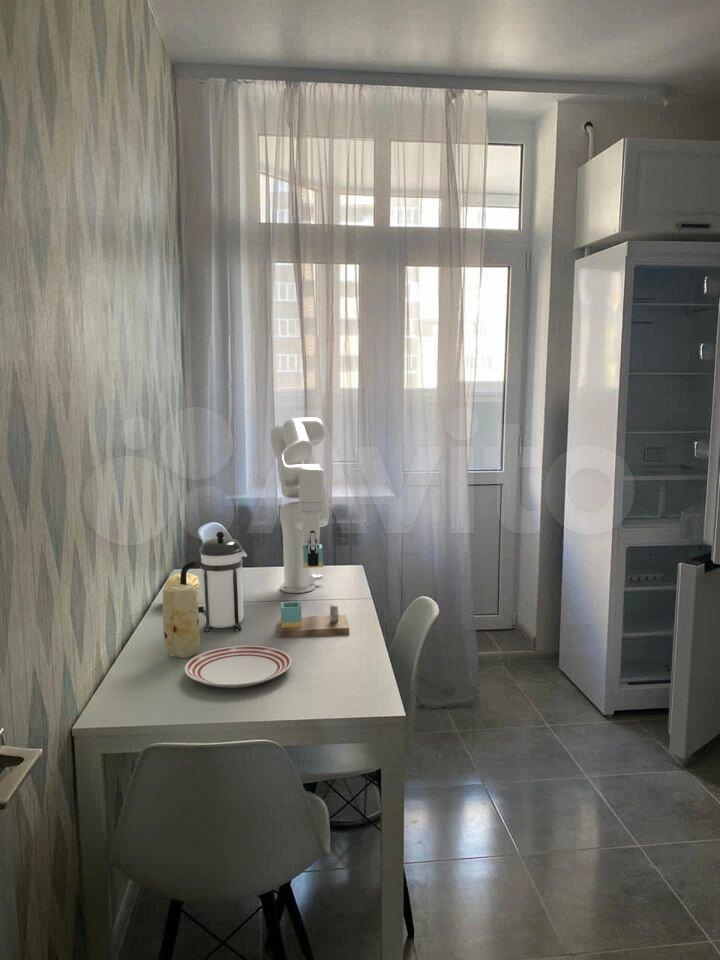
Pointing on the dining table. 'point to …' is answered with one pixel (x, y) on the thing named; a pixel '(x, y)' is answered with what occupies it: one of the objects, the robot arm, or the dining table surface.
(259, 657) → the dinner plate
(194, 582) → the sculpture
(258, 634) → the dining table surface
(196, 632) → the food model
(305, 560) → the sleeve
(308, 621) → the pin board
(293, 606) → the seated sleeve
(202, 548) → the coffee press
